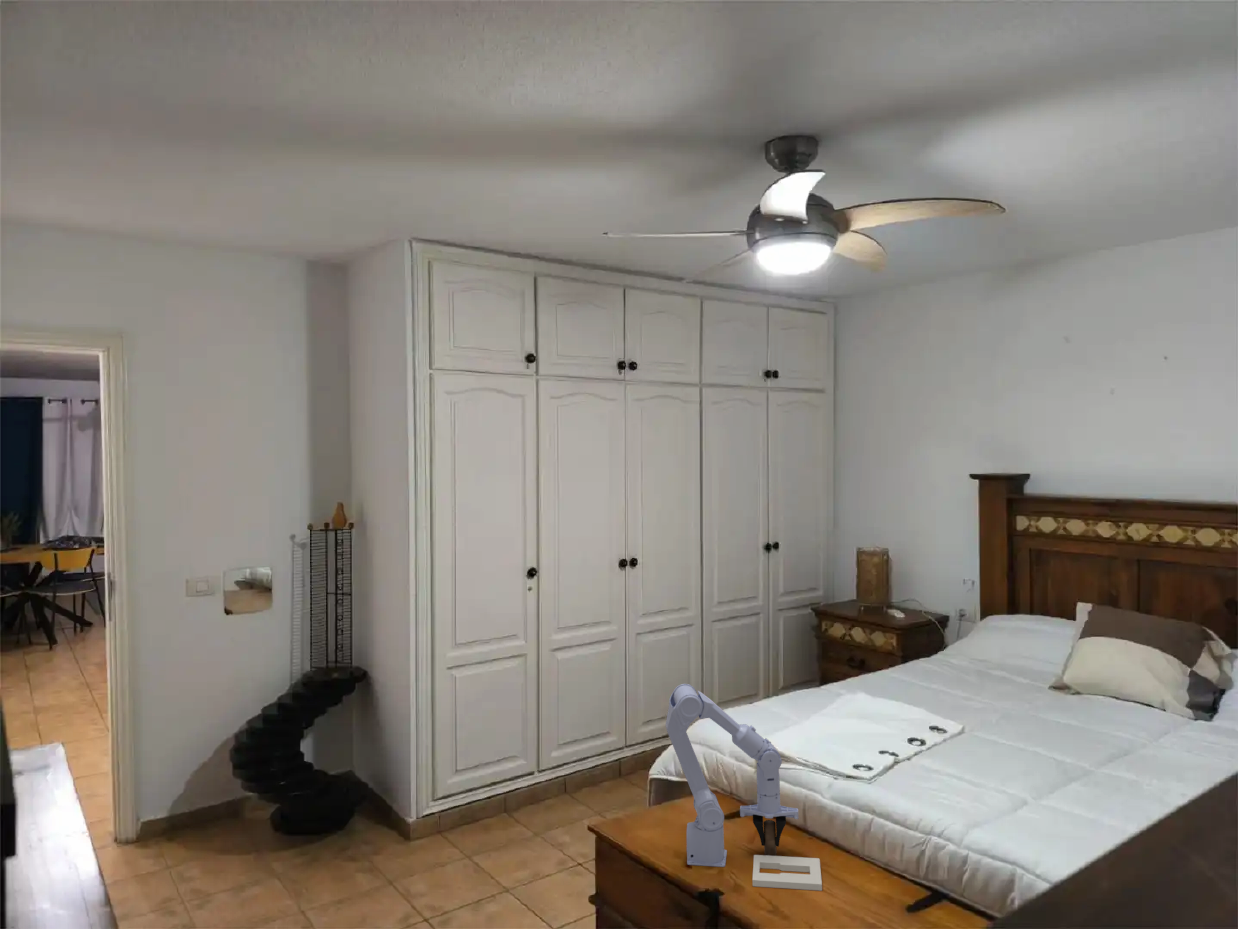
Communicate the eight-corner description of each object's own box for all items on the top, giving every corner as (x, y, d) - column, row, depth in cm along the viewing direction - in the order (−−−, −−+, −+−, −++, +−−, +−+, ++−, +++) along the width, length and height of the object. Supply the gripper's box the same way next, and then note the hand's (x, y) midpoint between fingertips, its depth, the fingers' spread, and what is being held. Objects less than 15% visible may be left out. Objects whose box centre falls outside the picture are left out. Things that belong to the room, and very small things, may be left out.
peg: (764, 856, 212) (763, 825, 211) (764, 850, 215) (763, 819, 214) (776, 857, 211) (775, 825, 211) (776, 851, 214) (775, 820, 214)
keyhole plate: (752, 886, 198) (752, 880, 198) (754, 860, 210) (753, 854, 210) (822, 890, 195) (821, 884, 195) (819, 864, 207) (819, 858, 207)
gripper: (738, 797, 210) (740, 850, 210) (797, 799, 207) (799, 853, 207) (740, 785, 217) (741, 837, 217) (797, 787, 214) (799, 840, 214)
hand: (770, 844), depth 213 cm, fingers closed on peg, 3 cm apart
